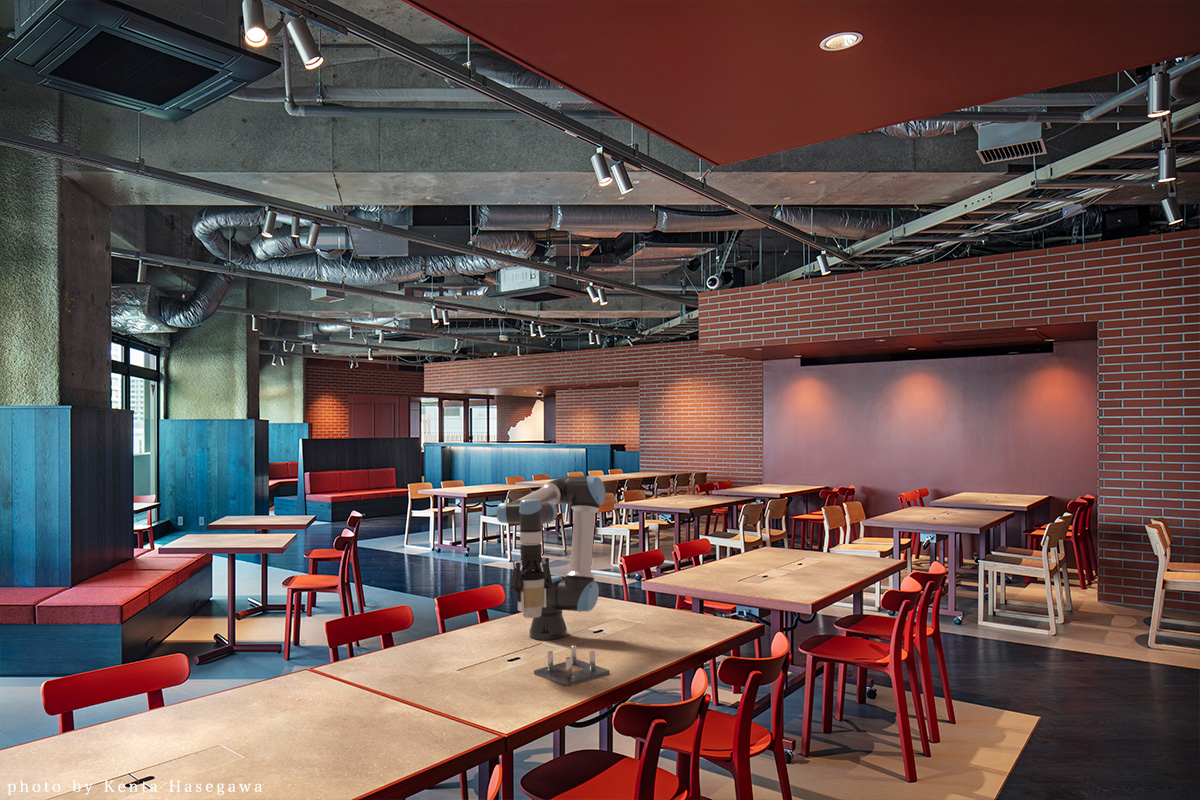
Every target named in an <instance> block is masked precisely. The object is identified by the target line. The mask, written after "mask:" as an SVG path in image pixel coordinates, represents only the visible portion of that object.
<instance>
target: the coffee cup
mask: <svg viewBox="0 0 1200 800" xmlns="http://www.w3.org/2000/svg"><path fill="white" fill-rule="evenodd" d="M545 578H546V577H545V575H544V572H543V570H542V572H540V573H538V572H535V571H534V570H532V571H530V572H529V574H521V571H520V575H519V580H523V583H524V586H523V589H522V591H521V592H524V612H522V615H523V616H522V617H523V618H527V619H533V618H536V617H540V616H541V612H542V605H543V594H544V579H545Z"/></svg>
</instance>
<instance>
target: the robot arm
mask: <svg viewBox="0 0 1200 800" xmlns="http://www.w3.org/2000/svg"><path fill="white" fill-rule="evenodd" d="M605 501H606V488H605V484H604V482H603V480H602V479H601V478H600V477H598V476H596V475H595V476H593V475H578V476H577V475H574V476H573V475H572V476H570V475H567V476H561V477H558V478H555V479H552V480H550V481H548V482H545V483H544V484H542V485H541V487H540V488H539V489H537V490H535V491H533V492H531V493H528V494H527V495H525V496H523V497H521V498H518V499H516V500H514V501H512V502H501V503H499V504H498V505H497V508H496V512H495V514H496V518H497V521H498V522H500V523H503V524H520V525H519V526H520V527H519V529H520V530H519V531H520V533H519V535H520V536H519V537H520V539H519V540H520V541H519V542H520V547H519V548H520V556H521V558H520V560H519V561H518V560H517V561H513V563H512V566H513V570H512V571H513V572H512V577H511V583H510V591H513V592H515V601H516V602H517V611H519V612H522V613H523V612H524V592H521V591H522V589H523V586H524V583H523V580H519V575H520V572H521V574H529V572H530V571H532V570H534V571H535V572H538V573H540V572H542V571H543V572H544V575H545V577H546V578H545V579H544V594H543V605H542V612H541V616H540V617H536V618H532V621H531V624H530V628H529V637H530V638H531V639H534V640H539V641H540V640H541V641H542V640H543V641H549V640H550V641H551V640H558V639H561V638H564V637H566V636H568V628H567V625H566V623H565V619H564V617H563V611H569V612H570V611H571V612H581V613H582V612H590V611H592V610H593V609H594V608H595V606H596V605H597V603H598V598H599V594H600V589H599V584H598V583H597V582H596V581H595V576H594V575H593V574H592V564H593V563H592V562H593V549H594V537H595V536H594V535H595V523H596V522H595V521H596V520H595V519H596V513H598V512H599V510H600V506H601V505H604V503H605ZM556 505H571V506H570V508H571V509H572V511H573V526H572V538H571V552H570V562H569V571H568V572H567V573H566V574H565V577H564V578H565V579H563V578H562V576H561V575H551V569H550V558H549V557H542V555H543V554H542V553H543V548H542V546H543V545H542V544H541V543H542V542H543V541H542V540H543V538H542V536H543V535H542V525H545V524H549V523H552V522H554V521H555V520H556V518H557V516H558V512H559V511H558V508H557V506H556ZM541 564H542V565H541Z"/></svg>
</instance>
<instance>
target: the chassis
mask: <svg viewBox="0 0 1200 800" xmlns="http://www.w3.org/2000/svg"><path fill="white" fill-rule="evenodd" d="M570 650H571V652H570V654H571V657H570V656H569V657H565V661H562V662H560V663H556V664H554V652H553V651H551V650H550V651H547V666H545V667H542V668H537V669H534V670H533V675H536V676H538V677H541V678H543V679H546V680H548V681H552V682H554V683H557V684H559V685H562V686H563V687H564V686H565V687H570V686H573V684H574V685H577V684H580V682H581V683H584V682H587V681H590V680H593V679H598V678H600V677H603V676H608V675H610V673H611V672H610V671H611V670H609V669H608V668H604V667H601V666H598V665H596V651H594V650H591V651H589V662H586V661H583V660H580V659H578V658H577V657H578V656H577V645H570ZM583 681H584V682H583Z"/></svg>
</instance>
